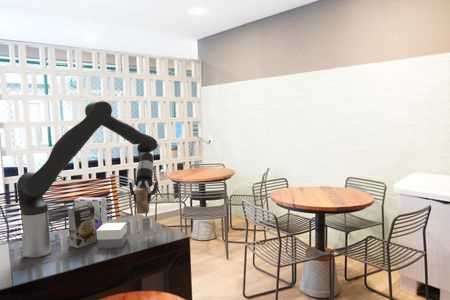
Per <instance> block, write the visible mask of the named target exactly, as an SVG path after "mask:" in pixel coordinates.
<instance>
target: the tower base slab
mask: <svg viewBox="0 0 450 300" xmlns="http://www.w3.org/2000/svg"><path fill="white" fill-rule="evenodd" d="M127 233H128V232H126V233H125V234H124V236H123V237H122V238H121V239H105V240H97V248H98V249H107V248H108V249H110V248H111V249H112V248H123V247H124V245H125V243H126V242H127V239H128V234H127Z"/></svg>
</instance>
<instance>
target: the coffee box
mask: <svg viewBox="0 0 450 300" xmlns="http://www.w3.org/2000/svg"><path fill="white" fill-rule="evenodd" d="M67 216H68V217H67V218H68V219H67V220H68V234H69V236H68V237H69V246H71V247H73V248H76V249H79V248H83V247H85V246H89V245H91V244H94V243H95V244H96V242H97V234H96V231H95V213H94V207H93V206H88V205H85V206H80V207H76V208H74V207H72V208H68V209H67Z"/></svg>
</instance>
